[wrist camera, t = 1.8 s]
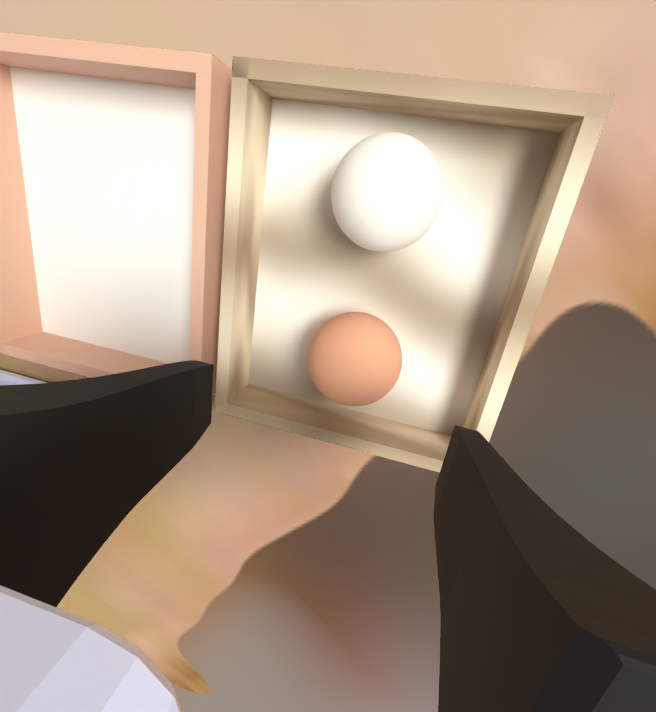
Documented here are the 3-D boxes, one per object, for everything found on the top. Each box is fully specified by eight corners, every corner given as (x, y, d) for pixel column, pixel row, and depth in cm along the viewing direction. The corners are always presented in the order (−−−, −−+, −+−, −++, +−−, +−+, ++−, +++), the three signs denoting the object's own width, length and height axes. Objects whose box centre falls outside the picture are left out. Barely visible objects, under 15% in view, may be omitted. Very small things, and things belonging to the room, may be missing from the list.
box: (467, 446, 19) (474, 481, 16) (240, 388, 21) (214, 411, 18) (579, 118, 14) (614, 95, 11) (264, 82, 16) (233, 56, 13)
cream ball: (427, 256, 16) (427, 266, 13) (336, 239, 17) (311, 245, 13) (452, 150, 15) (462, 127, 11) (351, 137, 15) (328, 111, 12)
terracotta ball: (394, 392, 19) (386, 434, 15) (315, 373, 19) (289, 409, 16) (413, 313, 17) (410, 338, 13) (327, 295, 18) (301, 314, 14)
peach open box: (227, 384, 21) (199, 407, 19) (41, 337, 23) (-7, 351, 21) (246, 80, 16) (212, 54, 13) (6, 53, 18) (-64, 25, 15)
